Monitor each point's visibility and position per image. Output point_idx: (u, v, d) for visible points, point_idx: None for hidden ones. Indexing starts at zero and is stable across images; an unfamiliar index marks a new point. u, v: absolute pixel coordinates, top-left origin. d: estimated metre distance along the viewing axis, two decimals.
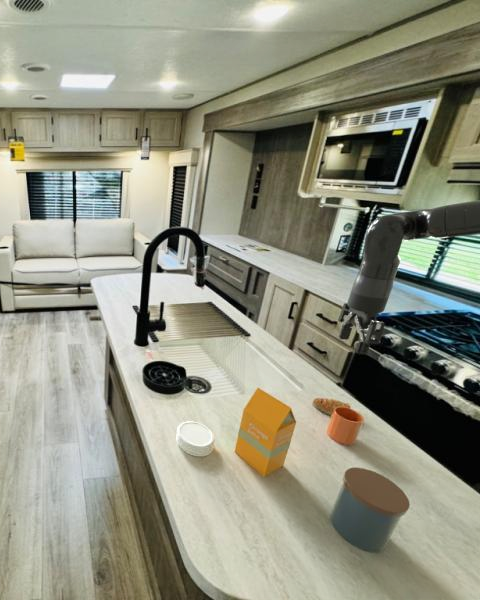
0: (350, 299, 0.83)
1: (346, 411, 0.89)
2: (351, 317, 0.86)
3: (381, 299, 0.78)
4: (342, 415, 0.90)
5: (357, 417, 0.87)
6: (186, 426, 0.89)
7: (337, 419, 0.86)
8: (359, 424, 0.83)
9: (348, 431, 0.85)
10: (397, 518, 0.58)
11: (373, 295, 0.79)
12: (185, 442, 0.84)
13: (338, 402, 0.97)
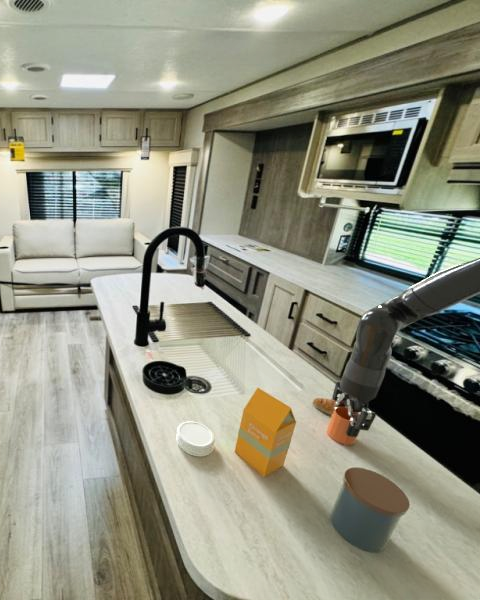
0: (342, 382, 0.84)
1: (346, 411, 0.89)
2: (344, 398, 0.86)
3: (373, 387, 0.78)
4: (342, 415, 0.90)
5: None
6: (186, 426, 0.89)
7: (337, 419, 0.86)
8: None
9: None
10: (397, 518, 0.58)
11: (365, 383, 0.79)
12: (185, 442, 0.84)
13: None
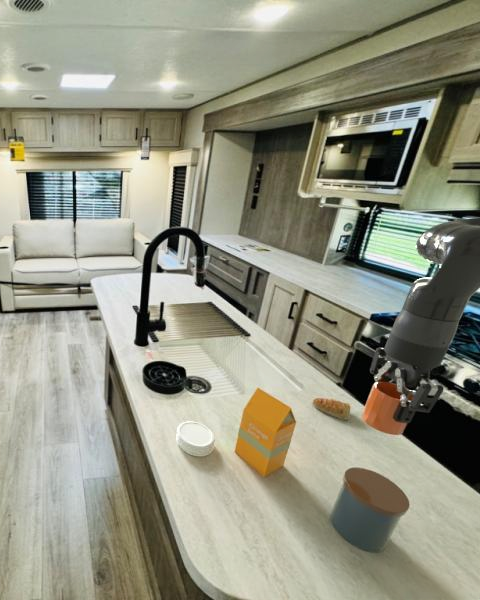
0: (390, 344, 0.58)
1: (391, 388, 0.64)
2: (390, 368, 0.61)
3: (439, 349, 0.53)
4: (384, 394, 0.64)
5: None
6: (186, 426, 0.89)
7: (379, 398, 0.61)
8: None
9: None
10: (397, 518, 0.58)
11: (427, 343, 0.54)
12: (185, 442, 0.84)
13: (338, 402, 0.97)
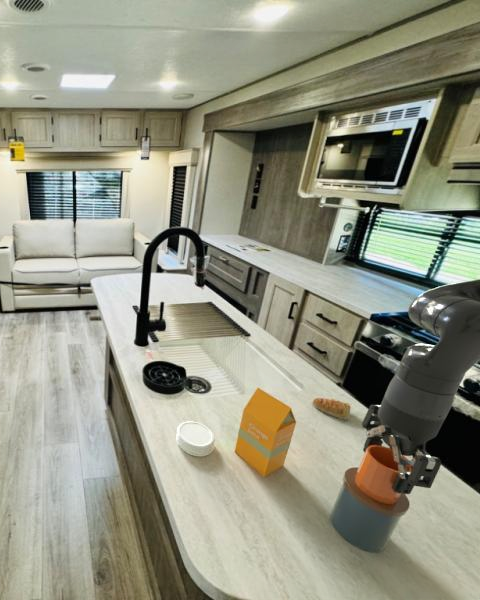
0: (383, 410, 0.56)
1: (385, 452, 0.61)
2: (383, 432, 0.58)
3: (435, 422, 0.51)
4: (378, 457, 0.62)
5: None
6: (186, 426, 0.89)
7: (372, 465, 0.58)
8: None
9: (391, 484, 0.57)
10: (397, 518, 0.58)
11: (422, 415, 0.51)
12: (185, 442, 0.84)
13: (338, 402, 0.97)
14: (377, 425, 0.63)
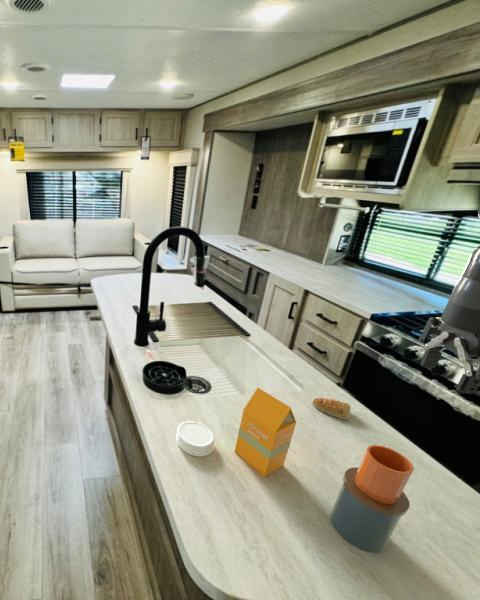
0: (449, 313, 0.57)
1: (385, 452, 0.61)
2: (446, 338, 0.60)
3: None
4: (378, 457, 0.62)
5: (402, 462, 0.59)
6: (186, 426, 0.89)
7: (372, 465, 0.58)
8: (407, 475, 0.56)
9: (391, 484, 0.57)
10: (397, 518, 0.58)
11: None
12: (185, 442, 0.84)
13: (338, 402, 0.97)
14: None
